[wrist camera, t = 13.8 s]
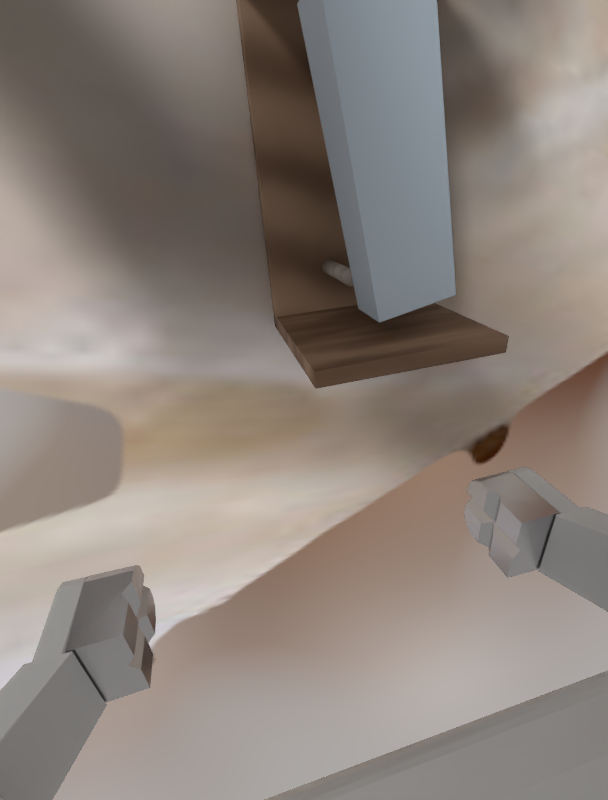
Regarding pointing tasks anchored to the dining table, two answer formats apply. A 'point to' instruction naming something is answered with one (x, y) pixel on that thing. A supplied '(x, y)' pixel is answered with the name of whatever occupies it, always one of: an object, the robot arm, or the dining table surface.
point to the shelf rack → (324, 227)
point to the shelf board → (385, 146)
